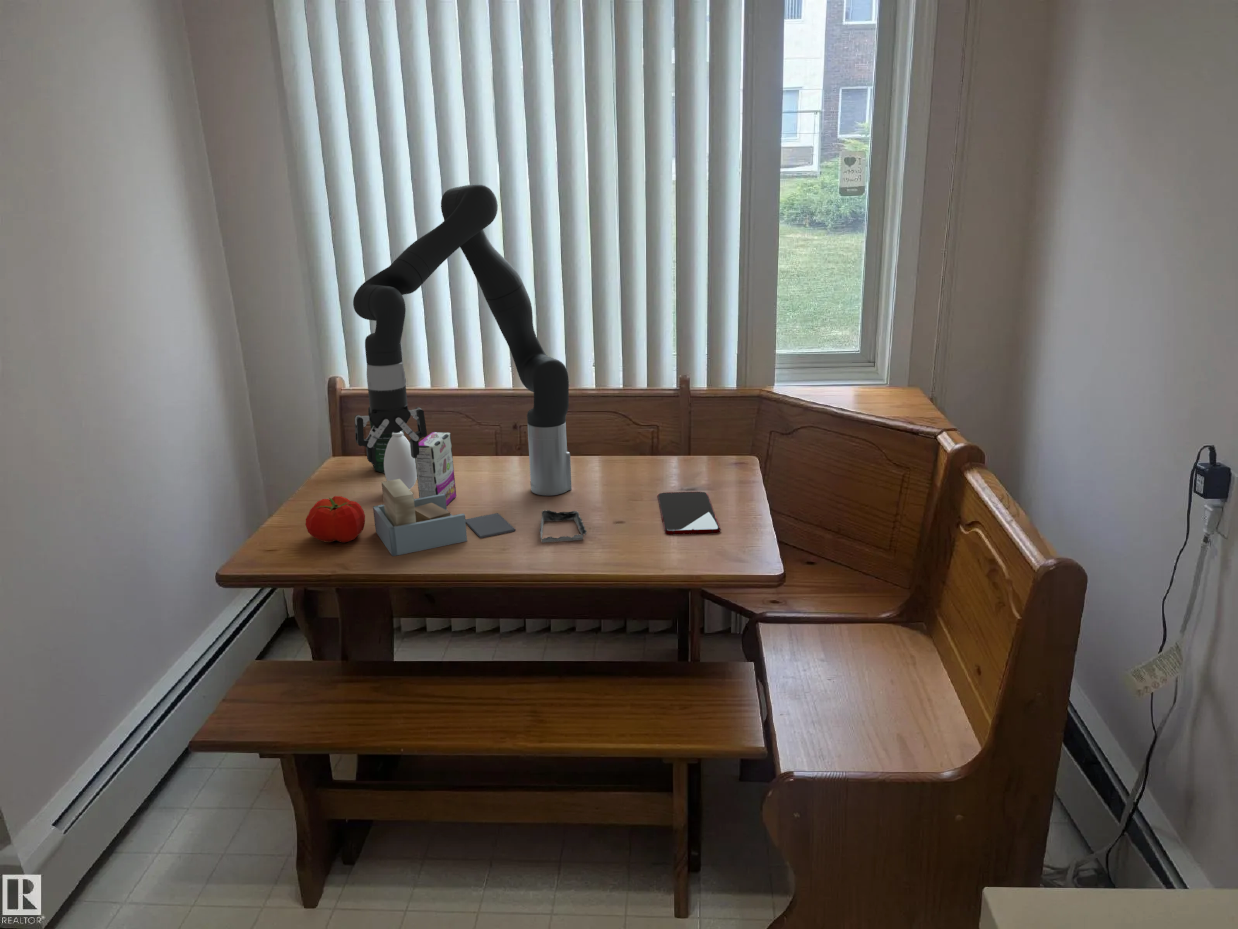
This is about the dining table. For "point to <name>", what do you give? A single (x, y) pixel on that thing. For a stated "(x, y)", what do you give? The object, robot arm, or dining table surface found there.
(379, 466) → the coffee jar
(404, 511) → the beige hardcover book
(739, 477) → the dining table surface
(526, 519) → the dining table surface
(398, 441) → the sauce bottle
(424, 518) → the offcut block upper
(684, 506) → the smartphone
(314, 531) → the tomato
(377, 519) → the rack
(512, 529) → the mat
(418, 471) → the candy bar box
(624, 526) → the dining table surface
